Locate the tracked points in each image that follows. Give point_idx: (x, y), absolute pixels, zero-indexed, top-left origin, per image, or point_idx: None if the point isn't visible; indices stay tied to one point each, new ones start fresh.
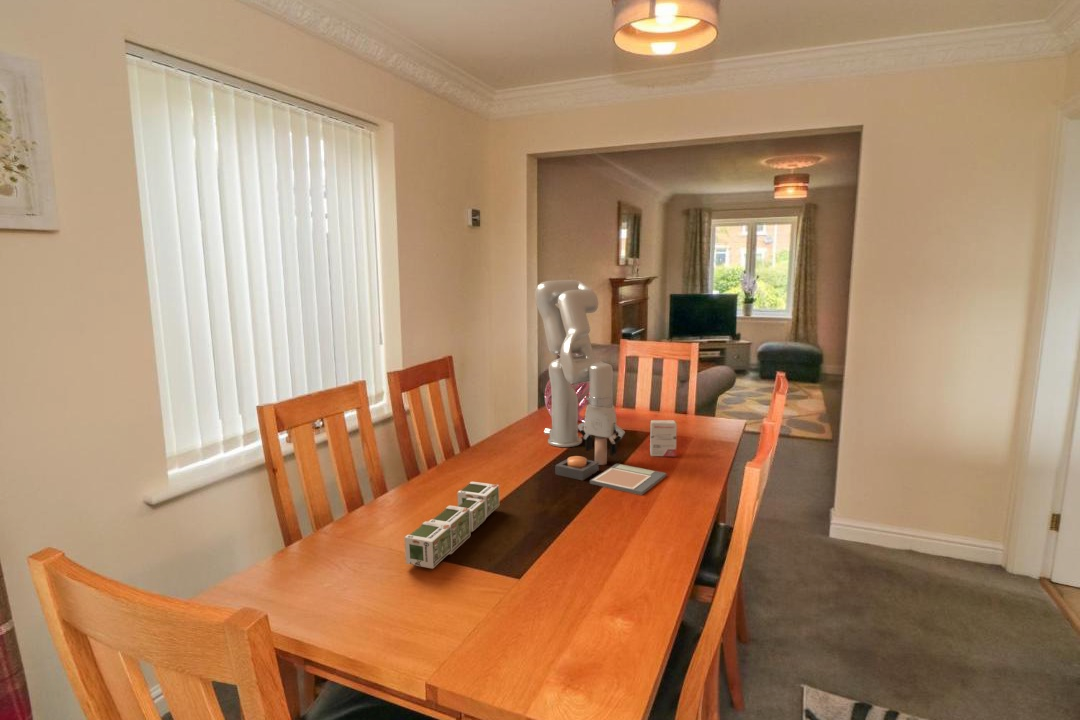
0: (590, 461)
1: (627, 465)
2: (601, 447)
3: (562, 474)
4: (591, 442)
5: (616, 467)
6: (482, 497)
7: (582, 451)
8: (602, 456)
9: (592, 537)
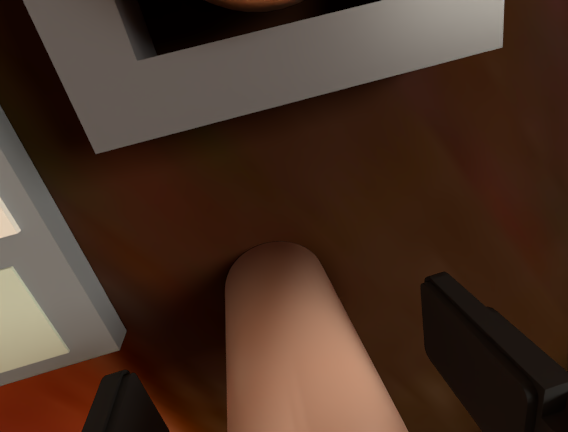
0: (181, 80)
1: (11, 380)
2: (246, 400)
3: None
4: (475, 410)
5: (6, 278)
6: None
7: None
8: (234, 318)
9: None
